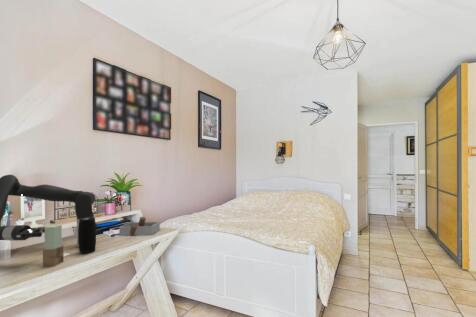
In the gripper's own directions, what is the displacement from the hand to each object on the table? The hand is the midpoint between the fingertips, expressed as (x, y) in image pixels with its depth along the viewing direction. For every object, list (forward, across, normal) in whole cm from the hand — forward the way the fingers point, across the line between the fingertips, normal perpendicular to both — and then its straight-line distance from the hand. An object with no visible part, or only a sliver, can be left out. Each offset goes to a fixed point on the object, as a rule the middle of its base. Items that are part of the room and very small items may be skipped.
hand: (48, 232), depth 129 cm
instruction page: (-4, +11, +16) cm, 20 cm away
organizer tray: (+22, +60, +16) cm, 66 cm away
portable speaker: (+9, +18, +16) cm, 26 cm away
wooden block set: (+22, +60, +16) cm, 66 cm away
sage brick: (+3, 0, +8) cm, 8 cm away
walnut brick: (+3, 0, +16) cm, 16 cm away
